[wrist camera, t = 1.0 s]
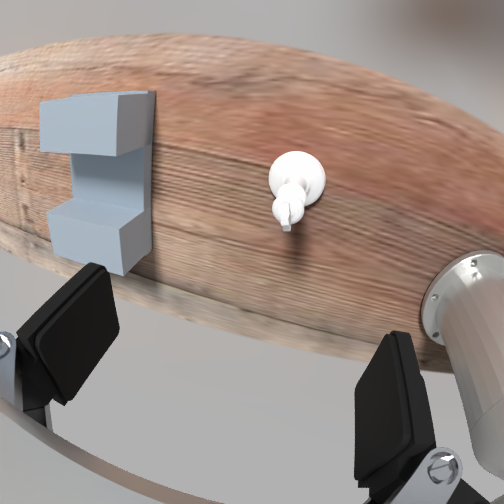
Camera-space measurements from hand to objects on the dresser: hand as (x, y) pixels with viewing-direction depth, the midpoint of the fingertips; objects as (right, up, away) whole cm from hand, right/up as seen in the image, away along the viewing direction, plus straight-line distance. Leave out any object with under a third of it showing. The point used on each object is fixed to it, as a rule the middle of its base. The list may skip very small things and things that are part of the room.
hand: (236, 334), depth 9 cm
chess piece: (+4, +9, +16) cm, 19 cm away
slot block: (-14, +11, +19) cm, 27 cm away
